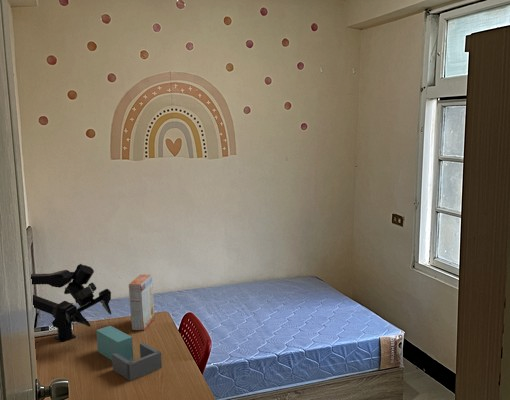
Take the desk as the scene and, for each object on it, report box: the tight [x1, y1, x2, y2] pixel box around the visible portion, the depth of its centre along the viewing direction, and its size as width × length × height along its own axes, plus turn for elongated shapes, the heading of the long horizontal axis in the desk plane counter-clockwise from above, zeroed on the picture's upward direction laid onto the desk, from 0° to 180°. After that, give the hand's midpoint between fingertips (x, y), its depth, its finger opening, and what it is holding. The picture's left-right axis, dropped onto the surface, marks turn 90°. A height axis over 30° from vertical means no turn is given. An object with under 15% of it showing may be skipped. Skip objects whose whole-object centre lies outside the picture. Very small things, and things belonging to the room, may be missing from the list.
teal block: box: [96, 325, 134, 362], centre depth 191 cm, size 16×6×9 cm, turn 46°
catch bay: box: [111, 342, 163, 382], centre depth 180 cm, size 12×13×6 cm
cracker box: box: [128, 274, 155, 331], centre depth 219 cm, size 14×6×21 cm, turn 172°
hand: (100, 319), depth 196 cm, fingers open, 9 cm apart
